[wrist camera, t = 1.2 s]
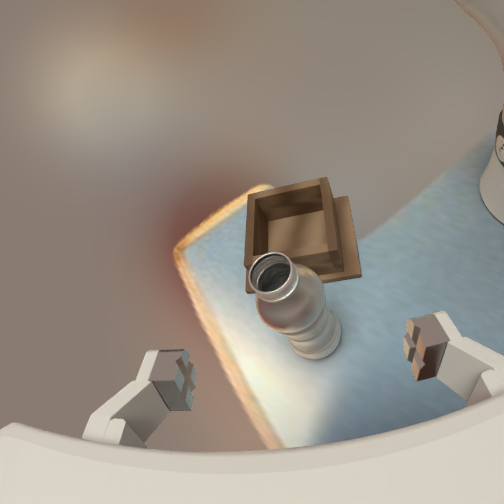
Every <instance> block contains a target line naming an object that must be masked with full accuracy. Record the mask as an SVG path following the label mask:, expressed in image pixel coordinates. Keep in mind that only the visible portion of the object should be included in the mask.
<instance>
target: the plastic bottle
mask: <svg viewBox="0 0 504 504" xmlns="http://www.w3.org/2000/svg"><path fill="white" fill-rule="evenodd" d="M248 279H249V283H250V286H251V288H252V289H253V290H254V291H255V293H256V307H257V311H258V314H259V316H260V318H261V320H262V321H263V322H264V323H265V324H266V325H267V326H268V327H270V328H271V329H273V330H275V331H277V332H280V333H282V334H284V335H286V336H287V337H288V338H289V341H290V343H291V345H292V347H293V349H294V351H295V352H296V353H297V354H299V355H300V356H302V357H304V358H307V359H322V358H324V357H326V356H328V355H330V354H331V353H332V352H333V351H334V350H335V349H336V348H337V346H338V344H339V341H340V338H341V325H340V322H339V320H338V318H337V317H336V316H335V315H334V314H333V313H332V312H331V311H330V310H329V309H328V308H327V306H326V300H325V290H324V286H323V283H322V281H321V279H320V277H319V276H318V275H317V274H316V273H315V272H314V271H313V270H311V269H309V268H308V267H306V266H304V265H301V264H294V263H293V262H292V261H291V260H290V258H289V257H288V256H286V255H285V254H283V253H280V252H270V253H266V254H264V255H262V256H261V257H259V258H258V259H257V260H256V261H255V262H254V263H253V265H252V266H251V268H250V270H249V275H248Z"/></svg>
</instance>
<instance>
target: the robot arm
mask: <svg viewBox="0 0 504 504" xmlns="http://www.w3.org/2000/svg"><path fill="white" fill-rule="evenodd" d="M455 1H456V3H457V4H458V5H459V6H460V8H461V9H463V11H464V12H466V13H467V14H468V15H469V16H470V17H472V18H473V19H474V20H475V21H476V22H477V23H478V24H479V25H480V26H481V27H482V28H483V29H484V30H485V31H486V33H487V34H488V35H489V37H490V38H491V40H492V41H493V43H494V45H495V46H496V48H497V50H498V53H499V55H500V58H501V61H502V65H503V70H504V0H455ZM479 188H480V193H481V197H482V199H483V201H484V203H485V205H486V207H487V208H488V210H489V211H490V212H491V213H492V214H493V215H494V216H495V217H496V218H497V219H498V220H499V221H500V222H502V223H503V224H504V104H503V110H502V111H501V112H500V115H499V120H498V125H497V131H496V142H495V148H494V150H493V152H492V154H491V157H490V160H489V163H488V165H487V167H486V168H485V170H484V172H483V173H482V175H481V178H480V182H479ZM406 329H407V331H408V332H407V334H406V335H405V336H404V342H403V346H404V353H405V356H406V358H407V360H408V361H410V362H411V363H412V366H411V370H412V372H413V374H414V377H415V379H416V381H420V380H424V379H428V378H432V377H436V376H437V377H436V378H438V379H439V380H440V381H441V382H443V383H444V384H445V385H447V386H448V387H449V388H450V389H452V390H453V391H454V392H456V393H457V394H458V395H459V396H461V397H462V398H463V399H465V400H466V401H467V404H466V406H465V408H463V409H460V410H458V411H455V412H452V413H449V414H446V415H443V416H440V417H437V418H434V419H431V420H428V421H424V422H421V423H418V424H414V425H411V426H407V427H403V428H400V429H396V430H392V431H388V432H384V433H379V434H375V435H371V436H366V437H361V438H356V439H351V440H345V441H340V442H334V443H327V444H320V445H313V446H305V447H296V448H287V449H275V450H261V451H241V452H240V451H238V452H196V451H174V450H160V449H148V448H147V446H146V445H145V444H144V442H145V441H146V440H147V439H148V438H149V436H150V435H151V434H152V433H153V432H154V431H155V429H156V428H157V427H158V426H159V425H160V423H161V422H162V421H163V420H164V419H165V418H166V417H167V415H168V414H169V413H170V411H191V408H192V403H193V398H194V397H193V395H192V393H191V392H192V391H193V390H194V389H195V387H196V371H195V368H194V365H193V364H192V363H190V362H189V357H190V356H189V354H188V352H187V350H185V349H174V350H149V351H147V352H146V354H145V357H144V360H143V362H142V365H141V367H140V370H139V373H138V375H137V378H136V381H132V382H131V383H129V384H128V385H127V386H126V387H124V388H123V389H122V390H121V391H119V392H118V393H117V394H116V395H115V396H113V397H112V398H111V399H110V400H108V401H107V402H106V403H105V404H104V405H102V406H101V407H100V408H99V409H97V410H96V411H95V412H94V413H93V414H91V416H90V419H89V421H88V424H87V426H86V429H85V431H84V434H83V436H82V439H80V438H76V437H71V436H67V435H62V434H58V433H54V432H50V431H46V430H42V429H38V428H35V427H31V426H28V425H25V424H22V423H17V422H14V423H11V424H9V425H7V426H5V427H4V428H2V429H1V430H0V504H504V356H502V355H501V354H499V353H497V352H495V351H493V350H491V349H489V348H487V347H485V346H483V345H481V344H479V343H477V342H475V341H473V340H471V339H469V338H467V337H462V336H461V334H460V333H459V331H458V330H457V328H456V327H455V325H454V324H453V322H452V321H451V319H450V318H449V316H448V315H447V313H446V312H445V311H440V312H436V313H432V314H428V315H424V316H420V317H415V318H411V319H408V321H407V324H406Z"/></svg>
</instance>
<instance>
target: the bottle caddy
mask: <svg viewBox="0 0 504 504" xmlns="http://www.w3.org/2000/svg"><path fill="white" fill-rule="evenodd" d="M270 252H280V253H283V254H285V255H286V256H288V257H289V258H290V260H291V261H292V262H293V263H294V264H301V265H304V266H306V267H308V268H309V269H311V270H313V271H314V272H315V273H316V274H317V275H318V276H319V277H320V279H321V281H322V283H328V282H334V281H340V280H347V279H353V278H359V277H361V270H360V263H359V256H358V250H357V243H356V237H355V232H354V226H353V220H352V215H351V209H350V204H349V199H348V196H343V197H338V198H333V195H332V192H331V188H330V185H329V182H328V178H327V177H324V178H319V179H314V180H310V181H305V182H301V183H296V184H292V185H287V186H283V187H279V188H274V189H270V190H266V191H261V192H257V193H253V194H249V195H248V201H247V219H246V237H245V256H244V266H245V268H246V269H247V271H246V292H247V293H248V294H251V293H255V291H254V290H253V289H252V288H251V286H250V283H249V279H248V275H249V270H250V268H251V266H252V265H253V263H254V262H255V261H256V260H257V259H258V258H259V257H261V256H262V255H264V254H266V253H270Z"/></svg>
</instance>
